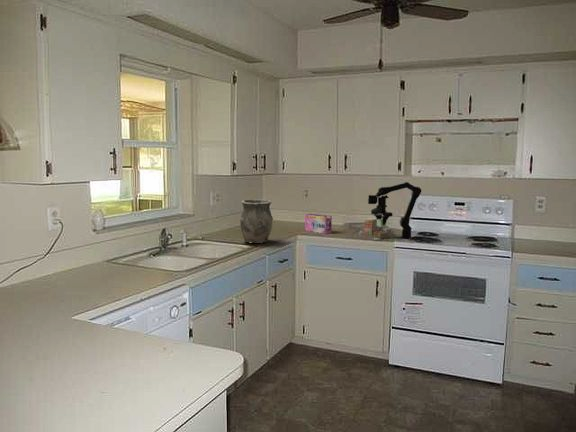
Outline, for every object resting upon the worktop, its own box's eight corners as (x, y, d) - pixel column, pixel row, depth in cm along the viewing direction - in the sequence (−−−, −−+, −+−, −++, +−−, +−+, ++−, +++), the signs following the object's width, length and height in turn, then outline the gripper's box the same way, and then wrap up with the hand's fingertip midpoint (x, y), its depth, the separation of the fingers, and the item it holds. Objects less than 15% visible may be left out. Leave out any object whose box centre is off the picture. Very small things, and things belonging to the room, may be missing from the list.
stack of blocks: (375, 231, 388) (376, 216, 387) (382, 232, 385) (383, 217, 383) (364, 235, 371) (364, 219, 369) (371, 235, 367) (372, 220, 366)
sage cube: (386, 226, 357) (386, 219, 356) (380, 226, 354) (380, 220, 354) (382, 225, 361) (382, 218, 360) (376, 225, 359) (376, 219, 358)
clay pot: (236, 244, 331) (236, 201, 327) (245, 238, 353) (244, 198, 349) (268, 245, 327) (268, 202, 323) (275, 239, 349) (274, 199, 345)
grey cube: (391, 235, 369) (391, 229, 368) (386, 235, 367) (386, 229, 366) (387, 234, 373) (387, 228, 373) (382, 234, 371) (382, 228, 371)
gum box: (333, 233, 380) (333, 216, 378) (326, 234, 374) (326, 217, 372) (311, 229, 396) (311, 213, 395) (304, 230, 391) (304, 214, 389)
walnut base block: (388, 237, 357) (388, 232, 357) (380, 238, 354) (380, 233, 353) (382, 236, 364) (382, 231, 364) (373, 237, 361) (373, 231, 360)
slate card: (383, 240, 348) (383, 239, 348) (375, 240, 345) (375, 239, 345) (377, 238, 354) (377, 237, 354) (369, 239, 351) (369, 238, 351)
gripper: (365, 203, 360) (365, 223, 362) (381, 205, 344) (380, 227, 346) (377, 202, 365) (377, 222, 367) (393, 205, 349) (392, 226, 351)
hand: (381, 224), depth 358 cm, fingers closed on sage cube, 5 cm apart
